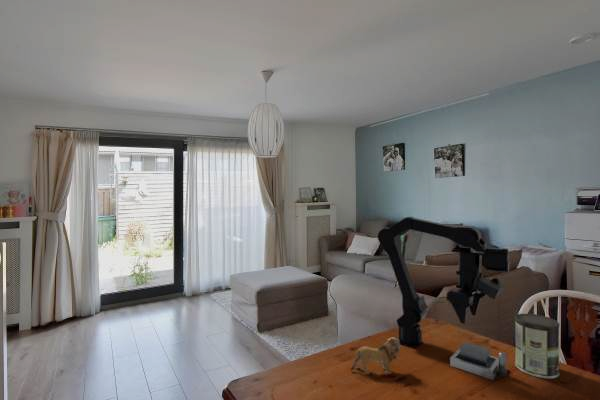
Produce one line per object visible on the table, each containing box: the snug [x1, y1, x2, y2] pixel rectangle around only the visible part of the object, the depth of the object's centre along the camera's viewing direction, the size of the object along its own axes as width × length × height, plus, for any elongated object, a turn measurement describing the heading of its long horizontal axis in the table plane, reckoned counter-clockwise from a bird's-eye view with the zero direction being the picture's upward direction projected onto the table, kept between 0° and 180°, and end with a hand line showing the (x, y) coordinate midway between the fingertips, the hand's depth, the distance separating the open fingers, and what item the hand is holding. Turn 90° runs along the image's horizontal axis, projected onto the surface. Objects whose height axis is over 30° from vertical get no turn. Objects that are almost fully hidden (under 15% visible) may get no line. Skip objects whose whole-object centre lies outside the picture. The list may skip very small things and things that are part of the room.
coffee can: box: [514, 313, 560, 380], centre depth 94 cm, size 10×10×14 cm
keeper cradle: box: [449, 347, 507, 381], centre depth 95 cm, size 13×9×6 cm
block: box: [459, 341, 491, 368], centre depth 96 cm, size 7×4×5 cm, turn 47°
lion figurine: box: [349, 336, 402, 375], centre depth 95 cm, size 15×5×9 cm, turn 96°
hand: (468, 319), depth 101 cm, fingers open, 9 cm apart
